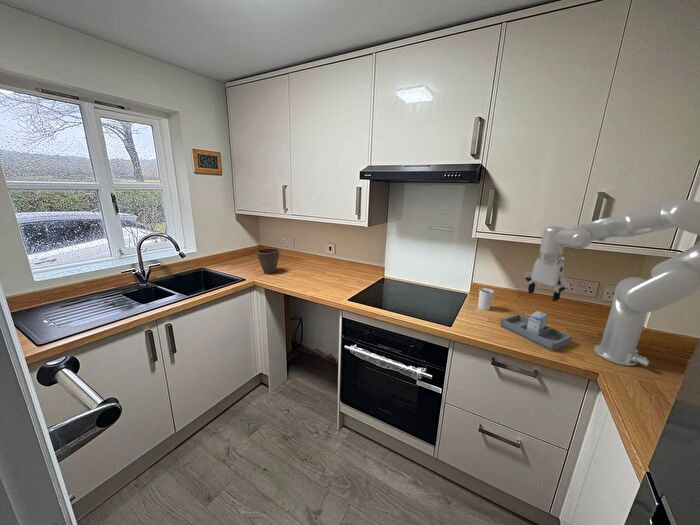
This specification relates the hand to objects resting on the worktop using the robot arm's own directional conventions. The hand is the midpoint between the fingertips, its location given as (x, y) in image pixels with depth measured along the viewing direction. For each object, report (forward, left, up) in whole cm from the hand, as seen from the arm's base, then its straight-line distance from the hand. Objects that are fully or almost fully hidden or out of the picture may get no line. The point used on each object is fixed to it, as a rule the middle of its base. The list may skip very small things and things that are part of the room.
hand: (542, 296), depth 119 cm
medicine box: (0, 0, -17) cm, 17 cm away
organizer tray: (0, 0, -18) cm, 18 cm away
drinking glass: (+28, -4, -18) cm, 34 cm away
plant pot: (+138, +83, -18) cm, 163 cm away
